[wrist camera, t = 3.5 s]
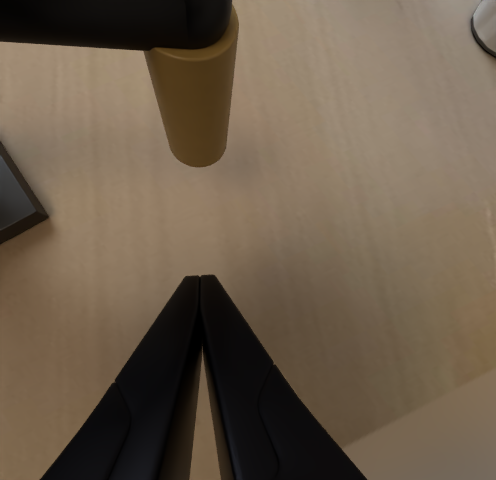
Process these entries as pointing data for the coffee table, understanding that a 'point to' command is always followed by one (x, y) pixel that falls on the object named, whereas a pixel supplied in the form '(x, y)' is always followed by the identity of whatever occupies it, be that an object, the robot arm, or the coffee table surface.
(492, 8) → the cup
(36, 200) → the tap column
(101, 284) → the coffee table surface
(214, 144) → the spout
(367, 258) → the coffee table surface
